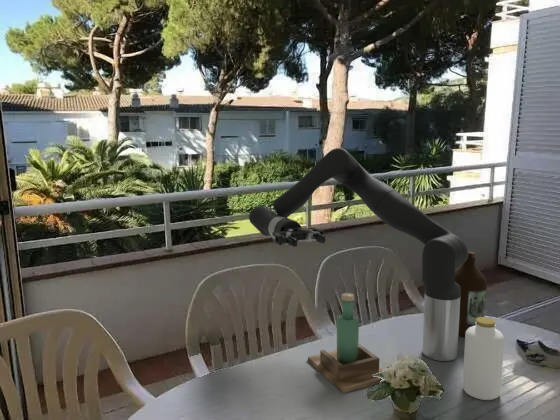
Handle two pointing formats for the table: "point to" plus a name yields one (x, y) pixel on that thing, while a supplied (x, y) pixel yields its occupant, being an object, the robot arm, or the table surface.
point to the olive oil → (470, 293)
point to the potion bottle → (483, 360)
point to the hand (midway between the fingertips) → (310, 241)
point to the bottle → (347, 332)
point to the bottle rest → (348, 369)
